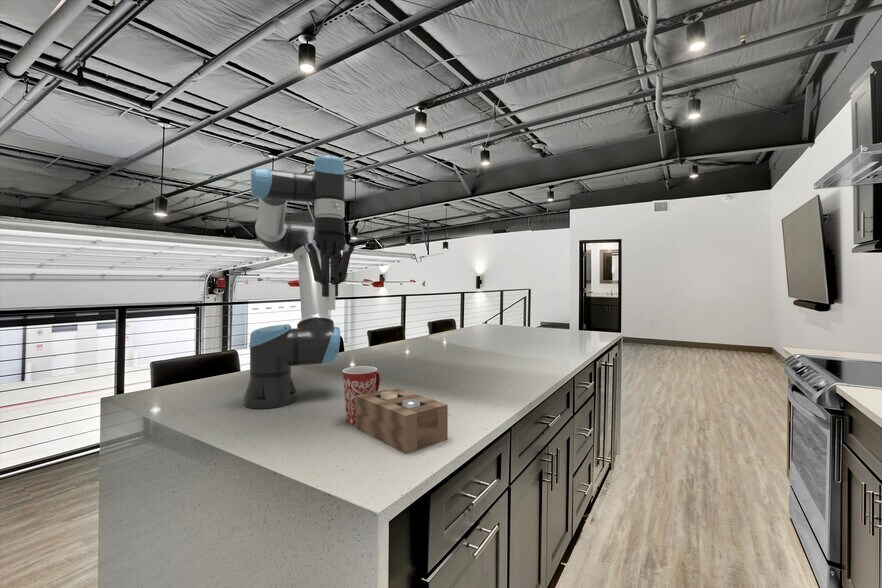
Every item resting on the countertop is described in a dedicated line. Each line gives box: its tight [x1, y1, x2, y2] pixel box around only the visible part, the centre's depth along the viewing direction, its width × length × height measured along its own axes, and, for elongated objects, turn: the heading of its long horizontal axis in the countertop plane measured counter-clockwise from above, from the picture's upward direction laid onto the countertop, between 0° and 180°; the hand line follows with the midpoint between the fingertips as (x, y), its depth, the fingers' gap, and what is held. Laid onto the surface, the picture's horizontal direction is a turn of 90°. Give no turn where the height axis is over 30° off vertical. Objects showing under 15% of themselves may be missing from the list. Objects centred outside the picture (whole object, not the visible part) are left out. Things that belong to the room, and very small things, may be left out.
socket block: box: [355, 387, 449, 454], centre depth 94 cm, size 21×12×8 cm, turn 42°
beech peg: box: [381, 391, 398, 400], centre depth 97 cm, size 4×4×8 cm
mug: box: [341, 365, 381, 425], centre depth 105 cm, size 13×9×14 cm
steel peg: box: [402, 399, 420, 409], centre depth 91 cm, size 4×4×8 cm
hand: (330, 309), depth 101 cm, fingers closed
